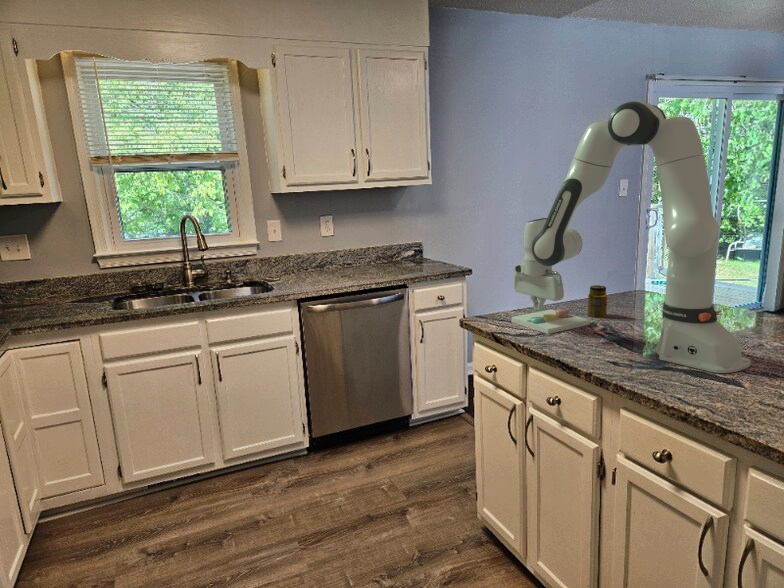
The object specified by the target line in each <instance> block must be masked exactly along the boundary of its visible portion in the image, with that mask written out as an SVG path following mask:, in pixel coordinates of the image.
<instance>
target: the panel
mask: <svg viewBox="0 0 784 588" xmlns="http://www.w3.org/2000/svg"><path fill="white" fill-rule="evenodd" d="M545 314H553V315H556V309H552V308H551V309H546V310H539V311H535V312H531V313H527V314H522V315H521V314H520V315H515V316H512V317H511V323H514V324H517V325H520V326H523V327H527V328H528V329H529V328H530V329H533V330H535V331H538V332H542V333H543V334H547V335H550V334H553V333H557V332H563V331H567V330H571V329H575V328H580V327H584V326H588V325H589V326H590V325H591V320H590V319H588V318H584V317H581V316H577V315H573V314H571V313H570V314H569V315H568V318H563V319H561V318H557V317H556V320H554V321H546V320H544V323H540V324H534V323H531V317H542V318H543V315H545Z"/></svg>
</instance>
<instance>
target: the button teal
mask: <svg viewBox="0 0 784 588" xmlns="http://www.w3.org/2000/svg"><path fill="white" fill-rule="evenodd" d="M531 323H534V324H540V323H544V318H542V317H531Z"/></svg>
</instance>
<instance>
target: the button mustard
mask: <svg viewBox="0 0 784 588" xmlns="http://www.w3.org/2000/svg"><path fill="white" fill-rule="evenodd" d="M543 318H544V320H546V321H554V320H556V315H553V314H545V315H543Z"/></svg>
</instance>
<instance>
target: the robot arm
mask: <svg viewBox="0 0 784 588" xmlns="http://www.w3.org/2000/svg"><path fill="white" fill-rule="evenodd" d="M644 145H647V146H649V147H650V149H652V152H653V157H654V161H655V167H656V173H657V177H658V184H659V189H660V194H661V203H662V213H663V214H662V216H663V225H664V234H665V240H666V244H667V246H668V248H669V250H670V251H669V260H668V264H667V265H668V266H667V271H666V281H665V282H666V283H665V297H664V302H663V304H662V314H661V315H662V319H663V320H662V321H663V322H662V326H661V327H662V328H661V333H660V336H659V339H658V342H657V345H656V348H655V351H654V352H655V353H656V354H657V355H658V360H661V361H665V362H668V363H669V362H670V363H672V364H678V365H680V366H686V367H690V368H695V369H698V370H702V371H707V372H711V373H716V374H728V373H736V372H738V371H739V372H740V371H743V370H745V369H748V368H749V367H750V366H751V364H752V361H751V359H750V358H748V357H745V356H742V349H741V347H742V346H741V343H740V340H739V339H738V338H737V337H736V336H735V335H734V334H732V332H730V331H729V330H728V329H727V328H726V327H725V326H723V324H721V322H719V321H718V317H717V316H720V315H722V313H721V312H722V310H717V311H716V310H715V307H714V305H713V295H714V282H715V280H714V279H715V273H716V272H715V270H716V263H717V261H716V260H717V254H718V247H719V246H718V245H719V235H720V226H719V223H718V220H717V219H716V218H715V216H714V212H713V206H712V198H711V189H710V187H711V186H710V180H709V175H708V169H707V163H706V158H705V153H704V148H703V144H702V140H701V137H700V133H699V131H698V129H697V126H696V124H695V122H694V120H693V119H692V118H690V117H688V116H687V117H686V116H674V117H673V116H672V117H670V118H667V116H666V114H665V112H664V111H663V110H662V109H661V108H660V107H659V106H656V105H654V104H651V103H649V102H646V101H628V102H625V103H622V104H620V105H619V106H617V107H616V108H615V109H614V110H613V111H612V112H611V114H610V115H609V117H608V121H595V122H593V123H590V125H588V126H587V127H586V129H585V131H584V132H583V135H582V137H581V138H580V141H579V142H578V145H577V147H576V150H575V152H574V154H573V158H572V161H571V163H570V166H569V168H568V171H567V175H566V177H565V178H564V181H563V183H562V185H561V186H560V189H559V191H558V193H557V195H556V196H555V199H554V201H553V203H552V206H551V209H550V211H549V213H548V216H547V217H542V218H541V217H540V218H537V219H531V220H529V221H528V222H526V224H525V226H524V229H523V230H524V231H523V249H524V257H523V262H522V263H519V264H515V265H514V266H513V271H514V275H513V286H514V290H515V292H516V293H519V294H522V295H523V294H524V295H528V296H530V300H531V302H532V307H533V309H534V310H538V311H544V305H545V302H546V300H549V301H553V302H556V301H562V300H563V298H564V297H565V294H564V293H565V291H564V284H563V279H562V275H561V274H560V273H559V272H558V271H557V270H553V266H555V265H556V264H559V263H560V262H564V261H568V260H569V259H573V258H574V257H576V256H578V255H579V253H581V250H582V249H583V248H582V247H583V238H582V237H581V234H580V233H579V232H578V231H577V230H575V229H572V228H568V227H569V225H570V222H571V220H572V219H573V215H574V213H575V211H576V210H577V208H578V207H579V205H581V203H582V202H584V201H585V200H586V199H587V198H589V197H590V196H591V195H593V194H595V193H596V192H598V191H599V190H600V189H602V187H603V186H604V185H605V183H606V181H607V180H608V177H609V176H610V174H611V171H612V167H613V166H614V163H615V159H616V157H617V155H618V153H619V151H620V150H621V149H622V148H623V147H626V146H644Z"/></svg>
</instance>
